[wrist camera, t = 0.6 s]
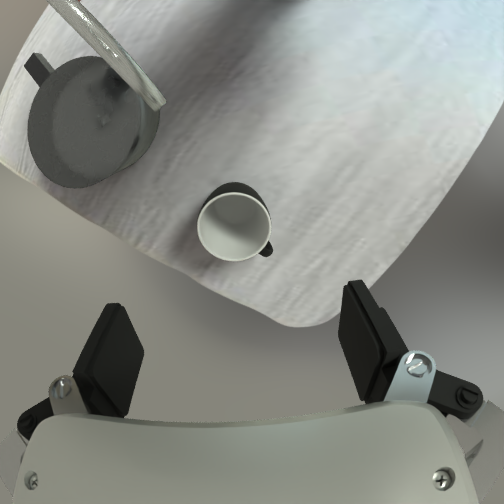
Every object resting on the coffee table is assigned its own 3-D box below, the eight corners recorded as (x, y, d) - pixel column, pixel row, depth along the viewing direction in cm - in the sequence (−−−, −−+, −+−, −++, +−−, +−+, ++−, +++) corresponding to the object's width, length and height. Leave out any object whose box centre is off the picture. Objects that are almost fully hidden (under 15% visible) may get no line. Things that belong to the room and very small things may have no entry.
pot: (95, 25, 28) (64, 10, 19) (182, 118, 36) (166, 118, 28) (32, 102, 32) (-6, 106, 23) (106, 193, 41) (77, 214, 32)
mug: (193, 202, 42) (181, 227, 33) (236, 162, 40) (236, 176, 31) (246, 254, 47) (248, 289, 38) (288, 219, 44) (302, 247, 35)
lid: (64, 14, 19) (80, 1, 19) (166, 123, 28) (184, 108, 27) (-5, -49, 2) (19, -69, 1) (124, 86, 10) (166, 52, 10)
